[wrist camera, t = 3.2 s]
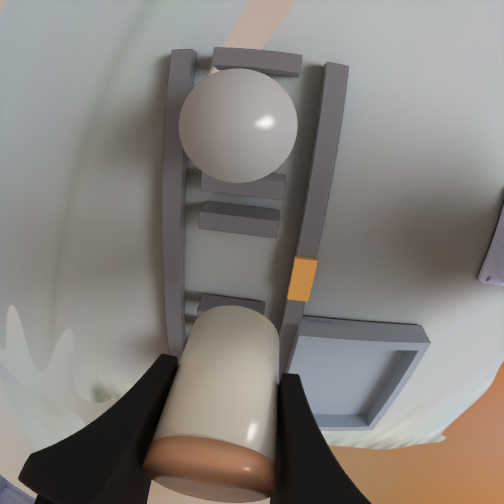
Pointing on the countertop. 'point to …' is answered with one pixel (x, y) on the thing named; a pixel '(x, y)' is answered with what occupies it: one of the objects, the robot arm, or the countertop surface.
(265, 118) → the cream capsule cylinder
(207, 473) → the cylinder
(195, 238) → the countertop surface
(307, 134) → the countertop surface
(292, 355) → the tray
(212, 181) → the clip rail
